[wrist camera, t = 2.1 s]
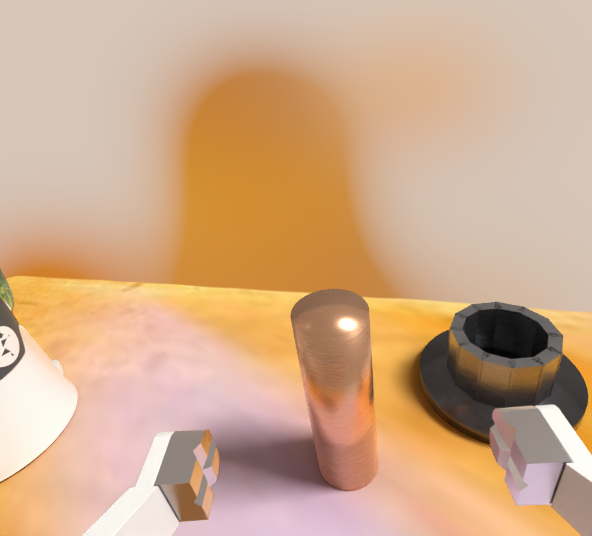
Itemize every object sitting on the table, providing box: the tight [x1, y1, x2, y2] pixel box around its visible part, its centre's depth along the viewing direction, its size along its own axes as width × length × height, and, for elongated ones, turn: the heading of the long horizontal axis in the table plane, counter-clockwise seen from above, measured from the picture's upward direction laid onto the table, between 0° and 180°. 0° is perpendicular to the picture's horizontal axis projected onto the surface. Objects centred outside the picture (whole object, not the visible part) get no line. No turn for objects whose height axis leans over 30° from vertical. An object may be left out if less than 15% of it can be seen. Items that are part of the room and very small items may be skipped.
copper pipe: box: [291, 289, 378, 491], centre depth 28 cm, size 5×5×16 cm
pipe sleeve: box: [420, 302, 588, 444], centre depth 35 cm, size 14×14×6 cm
